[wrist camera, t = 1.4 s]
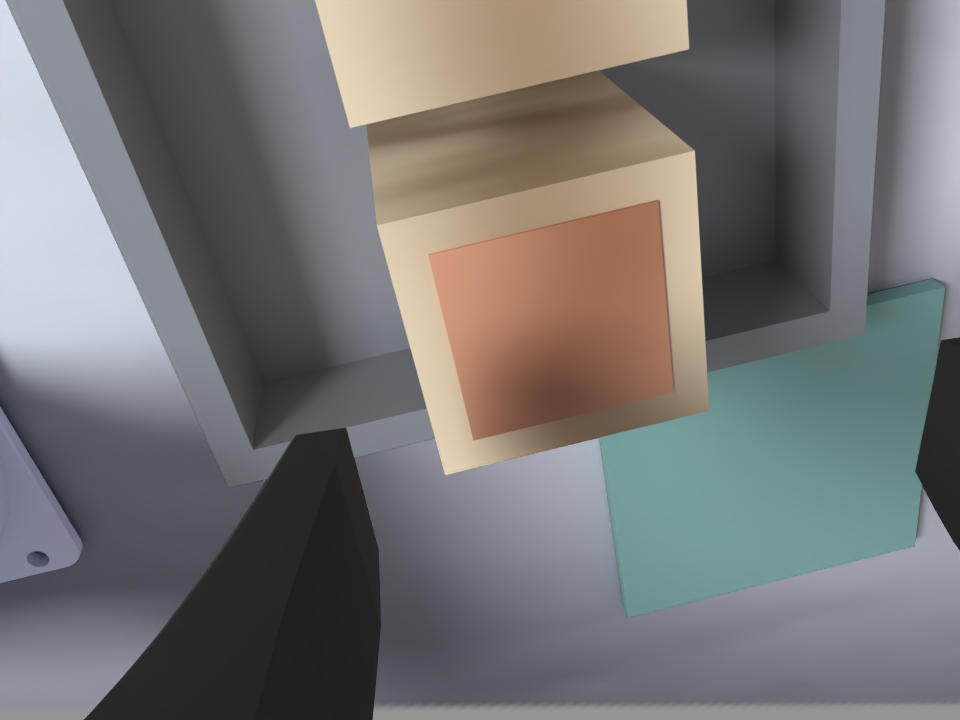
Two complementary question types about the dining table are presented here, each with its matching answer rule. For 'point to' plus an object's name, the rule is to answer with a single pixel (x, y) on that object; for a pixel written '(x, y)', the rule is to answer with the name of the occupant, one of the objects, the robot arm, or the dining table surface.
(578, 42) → the plain block
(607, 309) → the labelled block
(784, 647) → the dining table surface
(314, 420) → the parts bin
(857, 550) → the teal mat
